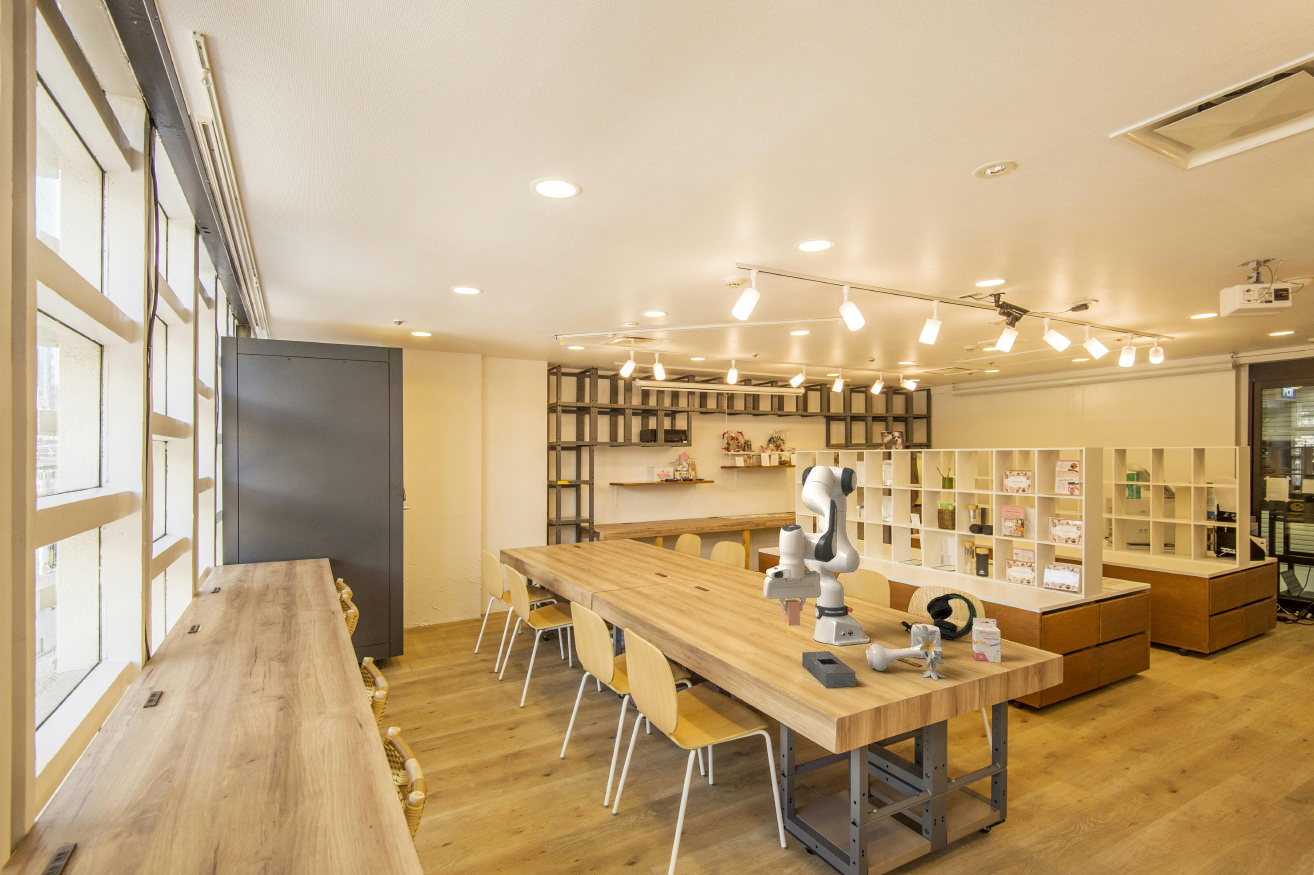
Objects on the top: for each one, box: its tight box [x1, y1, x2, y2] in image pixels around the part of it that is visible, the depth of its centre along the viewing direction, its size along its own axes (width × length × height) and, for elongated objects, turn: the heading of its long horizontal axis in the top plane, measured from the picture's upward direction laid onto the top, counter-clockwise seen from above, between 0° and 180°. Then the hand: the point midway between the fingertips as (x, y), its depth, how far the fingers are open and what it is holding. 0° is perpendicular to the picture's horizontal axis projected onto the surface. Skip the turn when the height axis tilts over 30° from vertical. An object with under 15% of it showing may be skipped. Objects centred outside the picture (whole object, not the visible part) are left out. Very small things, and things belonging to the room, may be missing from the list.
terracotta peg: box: [784, 599, 801, 627], centre depth 217 cm, size 4×4×8 cm
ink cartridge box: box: [971, 617, 1002, 663], centre depth 228 cm, size 9×5×15 cm, turn 76°
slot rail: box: [801, 650, 857, 689], centre depth 212 cm, size 10×22×5 cm, turn 7°
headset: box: [900, 592, 978, 640], centre depth 257 cm, size 18×14×29 cm
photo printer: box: [910, 623, 942, 660], centre depth 231 cm, size 10×4×12 cm, turn 73°
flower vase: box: [865, 625, 946, 681], centre depth 215 cm, size 13×18×25 cm
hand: (792, 610), depth 218 cm, fingers closed on terracotta peg, 4 cm apart
